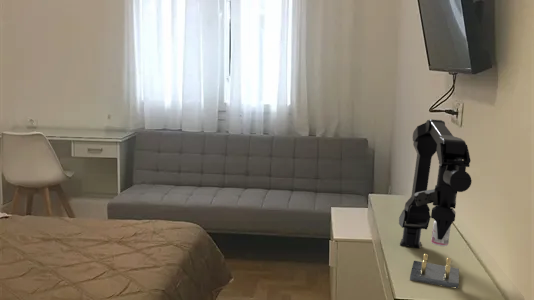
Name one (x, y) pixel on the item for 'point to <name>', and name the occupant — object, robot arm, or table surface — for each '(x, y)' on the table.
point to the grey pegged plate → (435, 273)
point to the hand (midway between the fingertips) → (440, 236)
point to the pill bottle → (435, 236)
